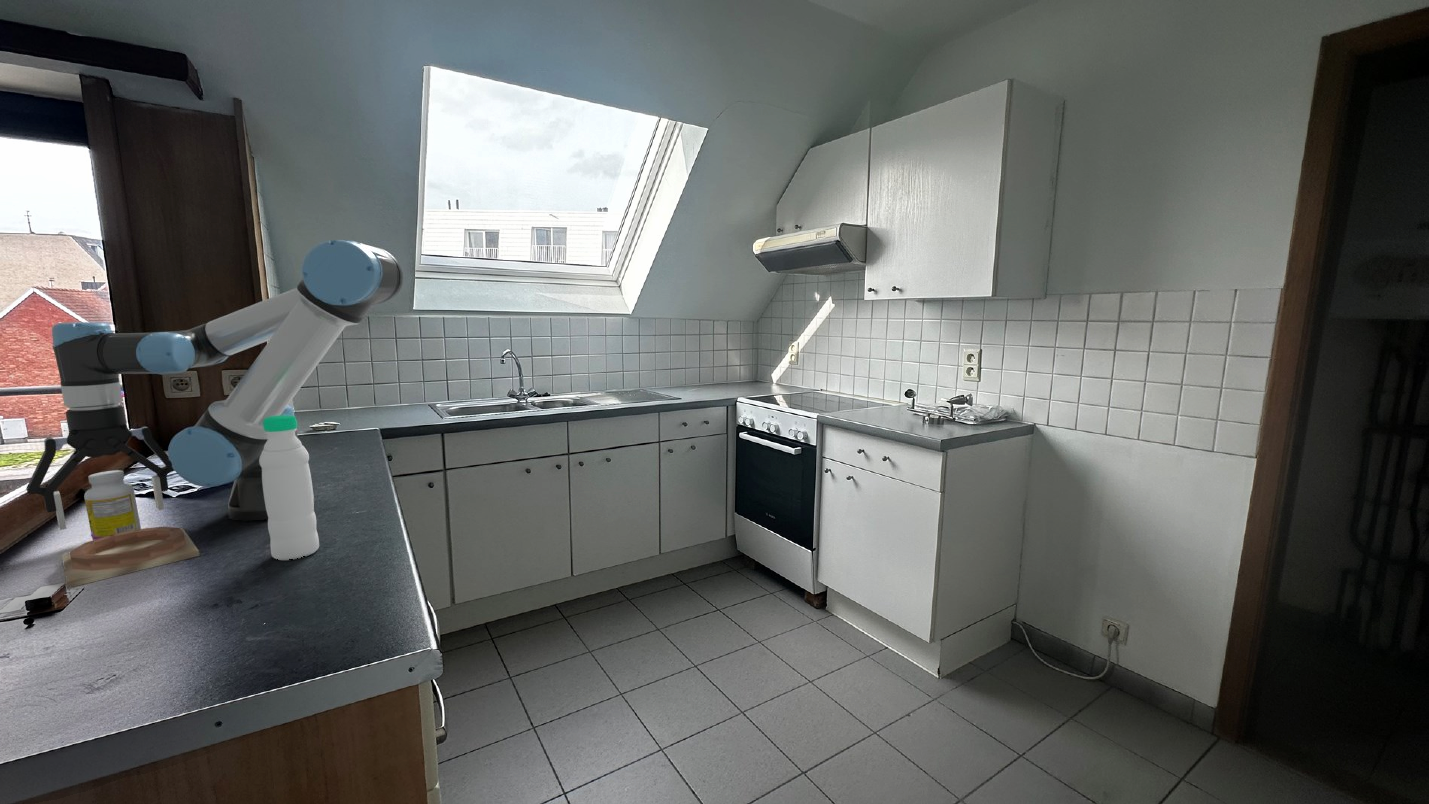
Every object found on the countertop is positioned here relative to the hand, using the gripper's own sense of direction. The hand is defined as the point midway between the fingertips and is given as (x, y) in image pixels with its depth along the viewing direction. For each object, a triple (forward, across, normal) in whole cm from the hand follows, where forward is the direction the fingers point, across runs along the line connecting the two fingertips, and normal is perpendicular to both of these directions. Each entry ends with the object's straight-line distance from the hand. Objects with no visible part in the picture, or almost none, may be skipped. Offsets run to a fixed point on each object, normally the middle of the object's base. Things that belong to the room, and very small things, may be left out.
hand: (113, 517), depth 113 cm
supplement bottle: (+4, 0, 0) cm, 4 cm away
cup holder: (+4, 0, +14) cm, 15 cm away
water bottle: (+4, -19, +35) cm, 40 cm away
